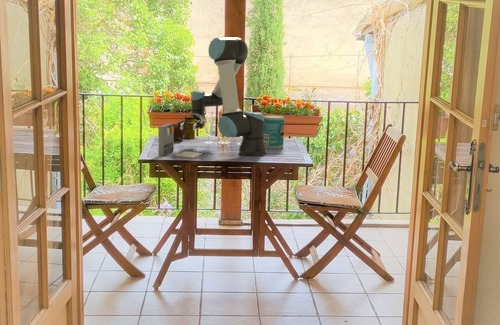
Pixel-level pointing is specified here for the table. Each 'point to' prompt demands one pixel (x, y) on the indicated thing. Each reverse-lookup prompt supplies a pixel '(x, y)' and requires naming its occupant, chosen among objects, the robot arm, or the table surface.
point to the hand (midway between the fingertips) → (187, 127)
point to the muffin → (178, 133)
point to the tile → (189, 154)
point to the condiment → (189, 128)
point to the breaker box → (166, 139)
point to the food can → (273, 131)
